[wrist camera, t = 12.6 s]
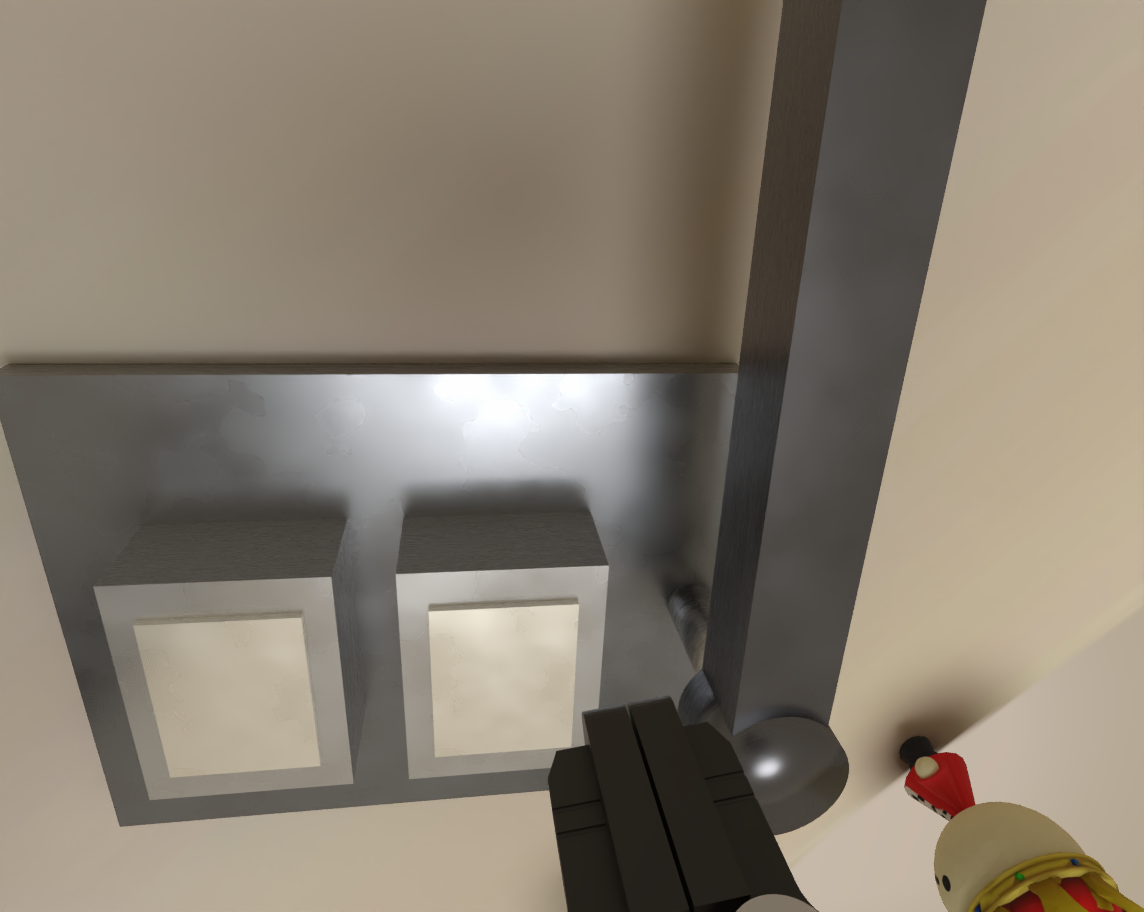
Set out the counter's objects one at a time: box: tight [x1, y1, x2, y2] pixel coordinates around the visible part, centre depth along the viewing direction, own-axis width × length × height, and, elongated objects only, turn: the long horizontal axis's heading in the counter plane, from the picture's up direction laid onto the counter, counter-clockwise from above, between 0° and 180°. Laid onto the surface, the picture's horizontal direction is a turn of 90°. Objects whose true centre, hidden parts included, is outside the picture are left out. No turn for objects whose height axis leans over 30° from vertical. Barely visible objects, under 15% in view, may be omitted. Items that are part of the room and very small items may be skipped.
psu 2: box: [93, 519, 365, 800], centre depth 26 cm, size 7×9×4 cm
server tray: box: [0, 364, 739, 827], centre depth 27 cm, size 25×20×7 cm
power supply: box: [396, 512, 609, 779], centre depth 28 cm, size 7×9×4 cm
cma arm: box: [678, 0, 987, 835], centre depth 19 cm, size 27×4×4 cm, turn 178°
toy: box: [900, 736, 1144, 912], centre depth 31 cm, size 7×7×15 cm
